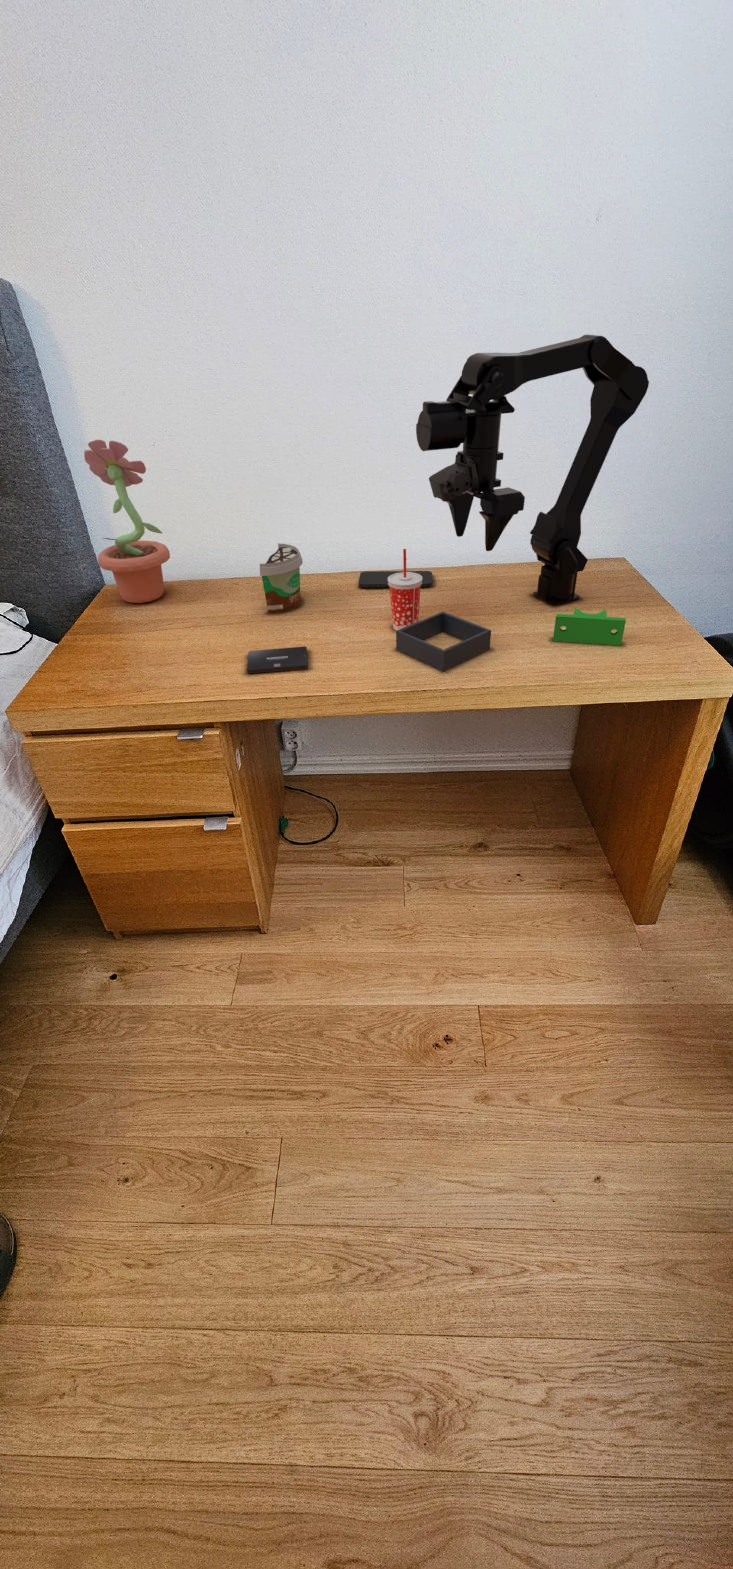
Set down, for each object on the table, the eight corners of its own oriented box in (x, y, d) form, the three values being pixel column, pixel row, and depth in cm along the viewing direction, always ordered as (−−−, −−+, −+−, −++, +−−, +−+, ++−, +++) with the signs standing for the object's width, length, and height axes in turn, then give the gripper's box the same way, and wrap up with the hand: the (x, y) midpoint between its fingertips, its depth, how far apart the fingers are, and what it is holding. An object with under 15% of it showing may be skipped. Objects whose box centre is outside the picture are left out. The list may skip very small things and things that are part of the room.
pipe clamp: (620, 636, 119) (625, 611, 117) (620, 646, 116) (626, 620, 114) (553, 631, 122) (556, 606, 119) (552, 641, 119) (555, 615, 116)
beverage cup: (410, 616, 130) (410, 541, 121) (429, 628, 125) (429, 550, 117) (382, 624, 127) (379, 548, 119) (400, 636, 123) (398, 558, 114)
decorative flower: (193, 585, 147) (161, 428, 129) (167, 611, 137) (129, 445, 119) (128, 583, 150) (88, 429, 132) (97, 609, 139) (49, 446, 121)
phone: (432, 583, 140) (358, 584, 141) (432, 587, 140) (358, 588, 141) (432, 570, 146) (360, 571, 147) (432, 574, 146) (360, 575, 147)
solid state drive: (308, 668, 115) (307, 664, 114) (247, 673, 114) (246, 670, 114) (307, 649, 120) (306, 646, 120) (248, 654, 120) (248, 650, 119)
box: (442, 629, 125) (442, 611, 122) (489, 649, 118) (491, 630, 115) (396, 649, 119) (395, 630, 117) (443, 671, 112) (443, 652, 110)
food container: (296, 617, 131) (291, 565, 125) (265, 616, 133) (258, 564, 127) (313, 592, 141) (309, 543, 135) (284, 591, 142) (278, 542, 136)
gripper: (408, 441, 116) (407, 536, 125) (470, 462, 102) (463, 567, 112) (465, 434, 120) (460, 527, 129) (531, 453, 106) (520, 555, 115)
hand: (473, 543), depth 121 cm, fingers open, 9 cm apart
